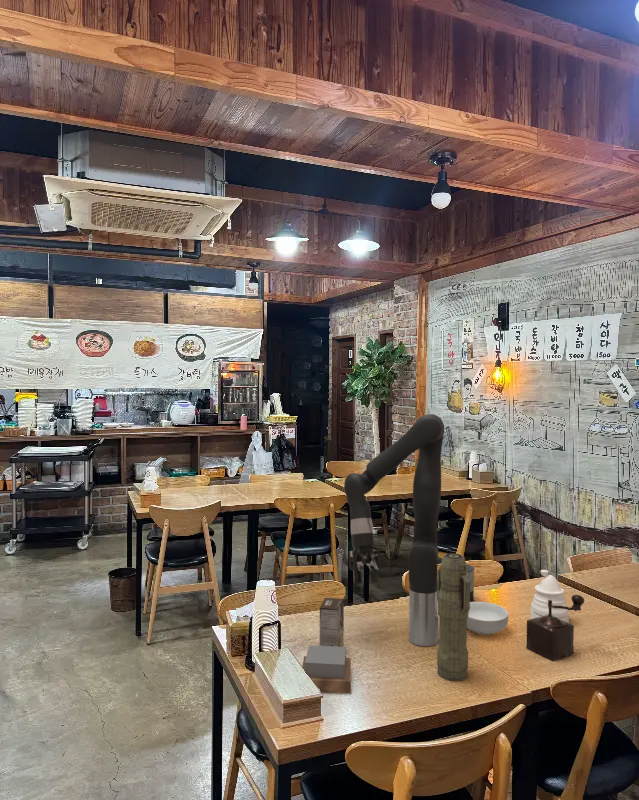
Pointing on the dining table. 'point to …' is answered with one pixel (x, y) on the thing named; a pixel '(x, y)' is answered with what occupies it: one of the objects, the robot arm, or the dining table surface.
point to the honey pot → (549, 591)
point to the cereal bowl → (486, 618)
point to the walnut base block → (334, 681)
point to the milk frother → (471, 577)
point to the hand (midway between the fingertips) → (366, 583)
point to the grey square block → (325, 662)
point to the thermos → (453, 617)
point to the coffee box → (332, 622)
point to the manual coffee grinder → (552, 633)
